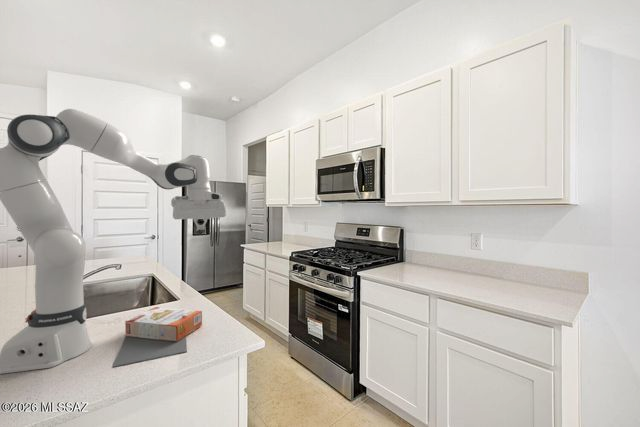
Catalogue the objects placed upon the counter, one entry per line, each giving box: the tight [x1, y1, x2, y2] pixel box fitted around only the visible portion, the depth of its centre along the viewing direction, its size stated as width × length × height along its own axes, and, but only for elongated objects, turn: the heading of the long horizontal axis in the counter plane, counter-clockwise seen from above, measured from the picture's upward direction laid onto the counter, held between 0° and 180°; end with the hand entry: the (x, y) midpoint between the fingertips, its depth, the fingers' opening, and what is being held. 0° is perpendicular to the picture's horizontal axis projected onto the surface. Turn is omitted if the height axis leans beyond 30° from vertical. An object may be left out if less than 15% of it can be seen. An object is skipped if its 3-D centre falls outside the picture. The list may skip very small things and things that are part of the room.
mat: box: [112, 335, 188, 368], centre depth 95 cm, size 19×22×1 cm
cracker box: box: [124, 306, 203, 342], centre depth 104 cm, size 14×6×21 cm
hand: (200, 229), depth 118 cm, fingers closed
